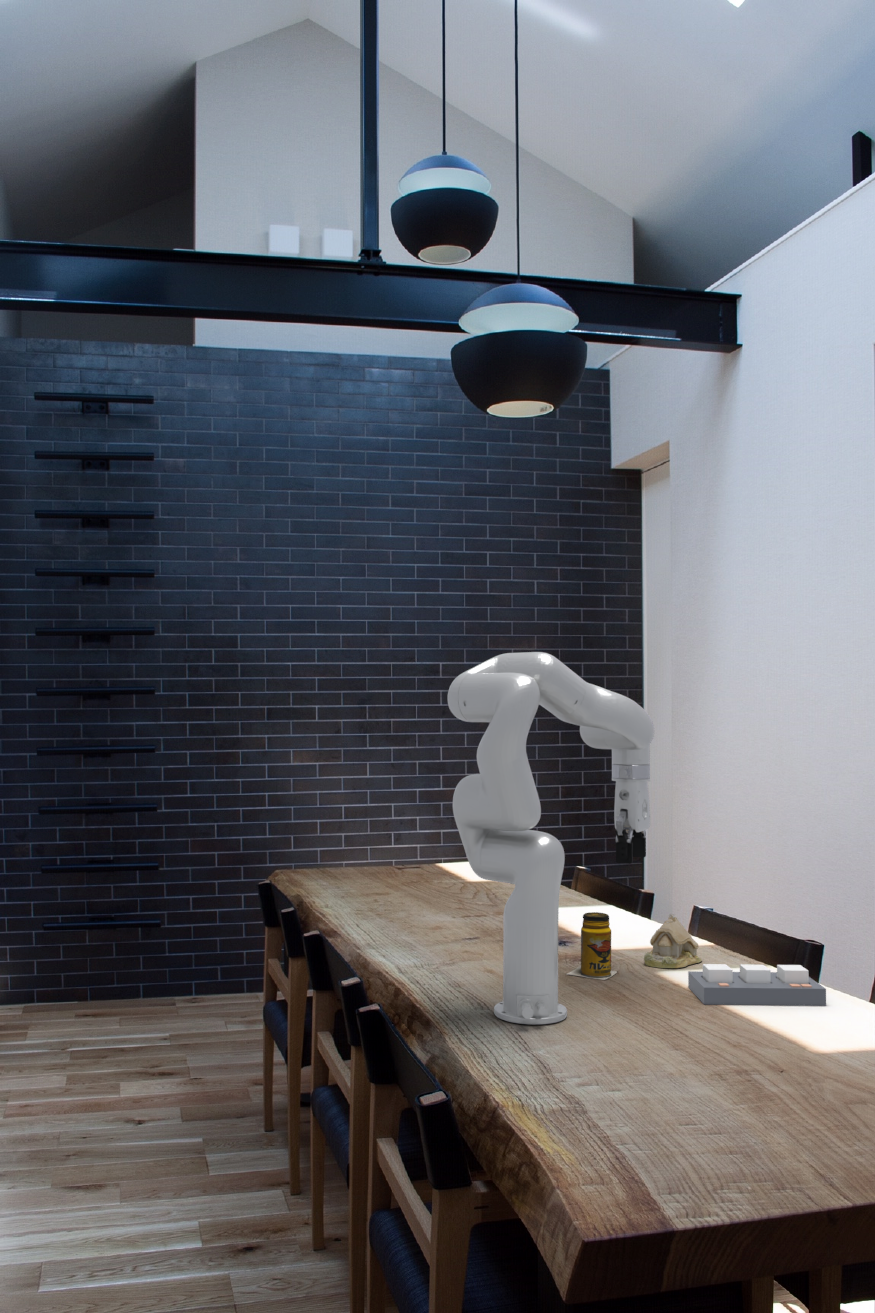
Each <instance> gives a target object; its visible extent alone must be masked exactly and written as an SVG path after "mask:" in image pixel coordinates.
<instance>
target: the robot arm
mask: <svg viewBox="0 0 875 1313" xmlns="http://www.w3.org/2000/svg"><path fill="white" fill-rule="evenodd" d="M447 705H448V708H449V711H450V713H451V714H452V715H453V716H454V718H455V717H456V719H457V720H461V721H462V722H467V723H489V724H488V726H487V728H486V730H485V732H484V733H483V735H482V737H481V739H480V742H479V744H478V747H477V748H476V749H477V750H476V763H477V767H478V771H479V773H474V774H469V775H466V776H465V777H463V778H461V780H459V782H458V783H457V785H456V786H455V790H454V791H453V797H452V813H453V817H454V822H455V824H456V827H457V830H458V833H459V837H460V840H461V842H462V845H463V848H464V852H465V855H466V858H467V861H468V863H469V866H470V868H471V870H472V871H473V872H474V874H475V875H477V876H478V877H479V878H481V879H483V880H486V881H491V882H498V883H503V884H504V883H506V884H510V885H514V889H513V890H512V892H511V894H510V895H509V896H508V899H507V901H506V902H505V905H504V909H503V920H502V921H503V922H502V924H503V936H502V937H503V938H502V939H503V940H502V941H503V942H502V943H503V946H502V947H503V950H502V951H503V953H502V954H503V957H502V959H503V962H502V963H503V964H502V966H503V967H502V968H503V969H502V970H503V972H502V978H503V979H502V985H503V986H502V987H503V988H502V1001H500V1002H497V1003H496V1004H494V1007H493V1014H494V1015H495V1016H496V1017H497V1018H498V1019H500V1020H503V1021H504V1022H509V1023H514V1024H521V1025H531V1026H532V1025H538V1026H539V1025H549V1024H554V1023H560V1022H562V1021H563V1020H565V1019H566V1018H567V1016H568V1008H566V1006H565V1005H563V1004H561V1003H559V908H560V907H559V904H560V890H561V885H562V884H561V883H562V878H563V873H564V869H565V868H564V867H565V860H566V858H565V857H566V854H565V851H564V850H565V849H564V846H563V845H562V843H561V841H560V840H558V838H557V837H555V836H554V835H552V834H551V833H548V832H544V831H539V830H534V829H533V828H534V827H536V826H537V825H538V823H539V821H540V819H541V817H542V816H541V815H542V807H541V802H540V796H539V792H538V790H537V787H536V783H535V780H534V777H533V772H532V769H531V766H530V762H529V759H528V753H527V739H528V735H529V732H530V729H531V726H532V723H533V721H534V719H535V716H536V715H537V714H536V713H537V712H538V708H539V706H541V707H542V708H544V709H545V710H547V711H548V712H549V713H551V714H552V715H553V716H554V717H556V718H557V719H558V720H560V721H562V722H564V723H568V724H572V725H575V726H579V734H580V738H581V739H582V741H583V743H585V744H586V745H587V746H588V747H590V748H593V749H599V750H611V781H613V782H615V789H614V811H613V812H614V814H613V815H614V816H613V818H614V819H613V820H614V828H615V862H616V863H617V864H629V865H630V864H633V862H634V859H633V858H646V857H647V836H646V835H647V832H646V830H648V829H649V828H650V827H651V809H650V794H649V793H650V792H649V785H648V782H651V744H652V741H653V739H654V737H655V736H654V735H655V725H654V722H653V719H652V717H651V715H649V712H647V710H645V708H643V707H642V706H641V705H640V704H638V703H637V702H636V701H635V700H633V699H631V698H629V697H627V696H626V695H623V694H620V693H618V692H615V691H611V690H609V689H606V688H604V687H601V686H598V685H595V684H593V683H589V682H587V681H586V680H584V679H583V678H582V677H581V676H580V675H578V674H577V673H576V672H575V671H573V670H572V669H570V667H568V666H567V665H566V664H565V663H563V661H561V660H559V658H557V657H556V656H554V655H552V654H550V653H548V652H543V651H531V652H530V651H529V652H528V651H527V652H507V653H502V654H498V655H495V656H493V657H491V658H489V659H487V660H485V661H483V662H482V663H479V664H477V665H476V666H473V667H472V668H469V669H468V670H465V671H464V672H462V673H460V674H459V675H458V676H456V677H455V678H454V679H453V681H452V682H451V684H450V685H449V689H448V691H447ZM532 829H533V830H532Z"/></svg>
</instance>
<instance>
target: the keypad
mask: <svg viewBox="0 0 875 1313" xmlns="http://www.w3.org/2000/svg"><path fill="white" fill-rule="evenodd" d="M732 974H733V983H707V982H706V981H705V980H704V979H703V971H691V970H690V971H687V976H688V978H687V979H688V980H687V981H688V982H687V983H688V989H689V990H690V991H691V992H692V993H693V994H694V995H695V996H696V997H697V999H699V1001H700V1002H701V1003H702V1004H703V1005H709V1006H710V1005H716V1006H717V1005H720V1006H722V1005H723V1006H725V1005H727V1006H731V1005H732V1006H801V1007H802V1006H805V1007H806V1006H813V1007H814V1006H817V1007H818V1006H819V1007H820V1006H821V1007H822V1006H823V1007H825V1006H827V988H826V987H824V986H823V985H821V984H820V983H819V982H818V981H815V980H814V979H813V978H811V976H809V984H784V983H782V982H781V981H780V980H778V979H777V971H772V972H771V983H745V982H744V981H743V980H741V979H740V971H732Z"/></svg>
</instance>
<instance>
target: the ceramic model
mask: <svg viewBox="0 0 875 1313" xmlns="http://www.w3.org/2000/svg"><path fill="white" fill-rule="evenodd" d="M649 943H650V946H652V949H651V951H646V952H645V954H644V956H643V962H644V964H645V966H647V967H652V968H659V969H660V968H661V969H679V968H680V969H681V968H685V967H687V966H689V965H694V964H698V963H701V962H702V961H703V959H702V958H701V957H699V956H698V952H697V951H698V948H699V943H698V942H697V941H696V940H695V939H694V938H693V937H692V935H691V933H690V932H688V931H687V929H686V928H685V926H683V925H682V923H681V922H680V920H679V919H678V917H677V916H676V914H673V913H670V914H669V915H668V919H666V920H665V921H664V922H663V924H662V925H661V926H660V927H659V928H658V929H657V930H656V931H655V933H654V934H653V935H652V936H651V938H650V940H649Z"/></svg>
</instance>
